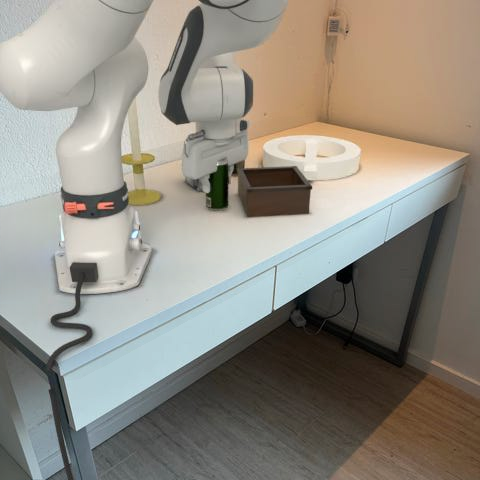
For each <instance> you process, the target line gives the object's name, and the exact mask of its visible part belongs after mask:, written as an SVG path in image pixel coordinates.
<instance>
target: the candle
mask: <svg viewBox="0 0 480 480" xmlns="http://www.w3.org/2000/svg"><path fill="white" fill-rule="evenodd" d="M127 119H128V129H129V139H130V147H131V153H127V154H122V165H127V166H132V172H133V183H134V190H131V191H128V194H129V195H128V198H129V203H128V204H129V205H130V206H146V205H147V206H148V205H151V204H154V203H157V202H159V201H160V200H161V199H162V194H161V193H160V192H158V191H155V190H152V189H146V182H145V172H144V171H145V170H144V165H148V164H150V163H153V162H154V161H155V160H156V158H155V157H156V156H155V155H153V154H151V153H147V152H142V150H141V141H140V131H139V120H138V109H137V98H136V97H135V99H134V100H133V102H132V104H131V106H130V108H129V110H128V113H127Z"/></svg>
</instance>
